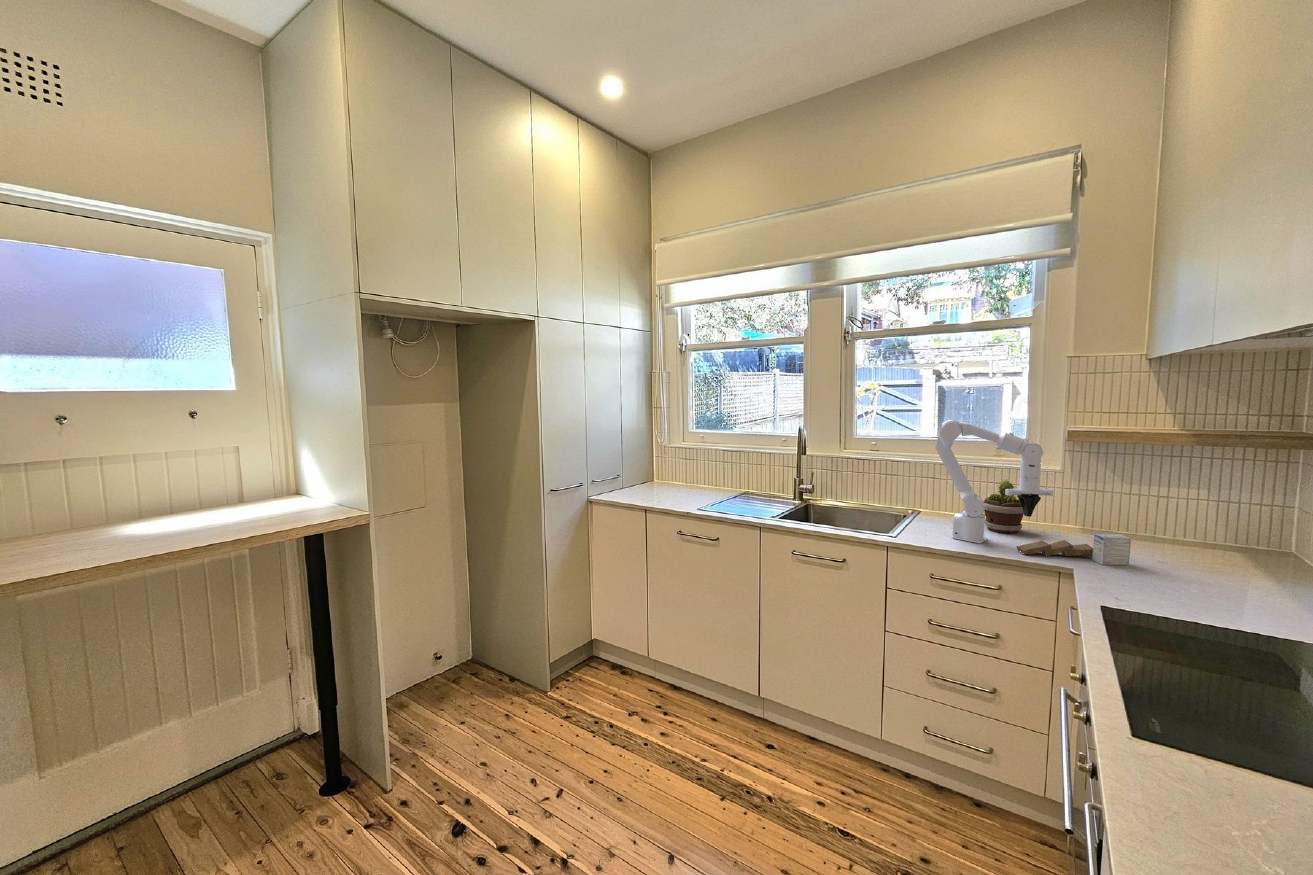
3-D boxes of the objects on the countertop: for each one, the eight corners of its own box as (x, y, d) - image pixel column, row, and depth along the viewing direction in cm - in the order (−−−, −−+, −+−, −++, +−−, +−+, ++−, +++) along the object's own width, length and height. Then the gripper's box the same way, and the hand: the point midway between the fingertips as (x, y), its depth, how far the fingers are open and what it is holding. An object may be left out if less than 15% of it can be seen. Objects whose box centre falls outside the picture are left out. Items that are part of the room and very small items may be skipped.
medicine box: (1118, 561, 168) (1120, 534, 167) (1129, 565, 163) (1131, 538, 163) (1091, 560, 169) (1093, 533, 168) (1101, 565, 164) (1103, 537, 163)
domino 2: (1044, 551, 173) (1072, 544, 171) (1037, 546, 178) (1064, 539, 176) (1046, 556, 173) (1073, 549, 171) (1039, 551, 178) (1066, 544, 176)
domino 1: (1024, 550, 174) (1050, 544, 173) (1016, 546, 179) (1042, 540, 178) (1025, 555, 174) (1051, 549, 173) (1017, 550, 179) (1043, 545, 178)
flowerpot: (1019, 538, 194) (1023, 483, 192) (973, 529, 205) (975, 478, 203) (1031, 530, 203) (1034, 478, 201) (986, 523, 215) (989, 474, 213)
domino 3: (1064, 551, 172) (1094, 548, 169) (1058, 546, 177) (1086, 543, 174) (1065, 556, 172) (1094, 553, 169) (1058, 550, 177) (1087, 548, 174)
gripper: (1014, 478, 179) (1012, 518, 181) (1060, 479, 178) (1057, 519, 179) (1002, 475, 186) (1000, 513, 188) (1046, 475, 185) (1044, 514, 186)
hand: (1027, 515), depth 184 cm, fingers closed
